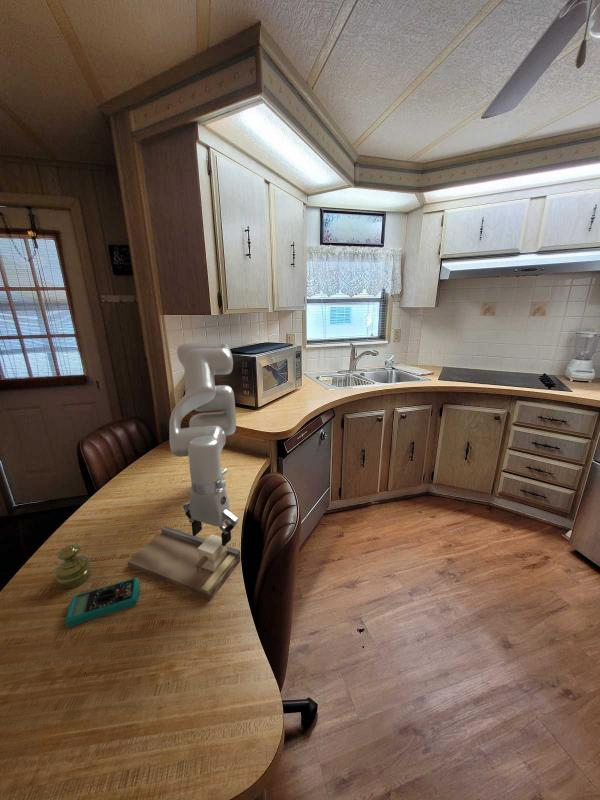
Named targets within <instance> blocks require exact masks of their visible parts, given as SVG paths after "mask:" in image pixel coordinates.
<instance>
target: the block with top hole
mask: <svg viewBox="0 0 600 800" xmlns="http://www.w3.org/2000/svg"><path fill="white" fill-rule="evenodd" d="M205 539H206V540H205V541H204V542H203V543H202V544H201V545H200V546H199V547H198V558H199V562H198V563H197V564H196V566H197V568H199V572H201V567H202V568H205V569H207V570H210V571H213V572H215V571H216V570H217V568H218V567H219V566H220V565H221V564H222V562H223V561H224V560H225V559H226V557H227V546H228V545H227V544H228V543H227V544H226V545H225V546H222V538H221V536H218V535H216V534H210V535H209V536H208V537H207V538H205Z"/></svg>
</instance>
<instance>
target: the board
mask: <svg viewBox="0 0 600 800" xmlns="http://www.w3.org/2000/svg"><path fill="white" fill-rule="evenodd" d="M206 539H207V538H204V537H202V536H201V537H200V536H197V535H196V536H193V534H191V533H187V532H185V531H182V530H179V529H175V528H173V527H169V526H167V525H164V526H163V527H162V528H161V533H159V534H158V535H157V536H155V538H153V539H152V540H151V541H150V542H149V543H148V544H147V545H145V546H144V547H142V548H141V549H140V550H139V551H138V552H137V553H135V554H134V555H133V556H132V557H130V559H128V560H127V562H126V563H127V568H129V569H132V570H133V571H136V572H139V573H142V574H144V575H146V576H149V577H151V578H153V579H156V580H158V581H161V582H164V583H166V584H168V585H171V586H173V587H175V588H178V589H180V590H183V591H185V592H188V593H190V594H193V595H195V596H198V597H200V598H202V599H205V600H207V601H211V600H212V599H213V598H214V597H215V595H216V594H217V592H218V591H219V590H220V588H221V587H222V586H223V584H224V583H225V582H226V581H227V579H228V578H229V577H230V575H231V574H232V573H233V571H234V570H235V568H236V567H237V566H238V565H239V563H240V562H241V558H242V557H241V550H240V549H237V548H234V547H232V546H228V545H227V557H226V559H225V560H224V561H223V562H222V564H221V565H220V566H219V567H218V568H217V570H216V571H215V572H213V571H210V570H207V569H205V568H202V567H201V572H199V568H197V566H196V564H197V563H198V562H199V558H198V547H199V546H200V545H201V544H202V543H203V542H204V541H205V540H206Z"/></svg>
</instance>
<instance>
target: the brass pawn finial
mask: <svg viewBox="0 0 600 800" xmlns="http://www.w3.org/2000/svg"><path fill="white" fill-rule="evenodd" d="M81 548H82V547H81V545H80V544H77V543H72V544H69V545H66V546H64V547H63V548H61V549H60V550H58V552H57V553H56V557H57V559H58V560H62V561H61V562H60V563H58V565H57V566H56V568H55V570H54V575H55V577H56V579H55V580H56V582H57V587H59V588H60V589H63V590H70V589H74V588H76V587H79V586H80V585H83V584H84V582H86V581H87V580H88V579H89V578H90V576H91V575H92V568H91V567H92V566H91V564H90V558H89V556H87V555H85V554H78V553H80V551H81Z"/></svg>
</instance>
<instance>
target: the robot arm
mask: <svg viewBox="0 0 600 800" xmlns="http://www.w3.org/2000/svg"><path fill="white" fill-rule="evenodd" d="M176 355H177V358H178V360H179V363H180V364H181V365H182V368H183V369H184V385H185V387H184V388H185V394H184V396H183V397H181V398H180V400H179V401H178V402H177V403H176V405H175V406H174V407H173V410H172V411H171V414H170V418H169V428H168V429H169V447H170V451H171V453H172V454H173V455H174V456H176V457H180V458H181V457H188V463H189V472H190V482H191V483H190V485H191V486H190V491H189V501H188V502H187V501H186V502H185V503H184V504H183V505H182V510H184V512H185V516H186V517H187V518H188V522H189V524H191V525H190V526H191V531H192V532H191V533H192V534H191V535H193V536H197V535H198V534H199V533H201V531H202V530H203V527H202V526H203V525H202V523H204V524H207V525H209V526H213V527H218V528H219V529H220V530H221V532H222V533H221V535H220V537H221V538H222V546H225V545H226V544H228V543H229V542H230V541H231V540H232V532H231V531H232V530H233V529H235V527H236V526H237V524H238V522H239V518H238V517H237V516H235V515H234V514H233V513H232V512H231V508H230V501H229V497H228V492H227V489H226V479H225V478H223V477H224V475H225V474H227V472H228V469H227V468H223V469H222V463H221V452H222V451H223V448H224V447H225V444H226V437H227V436H232V435H234V434H235V432H236V429H237V419H236V418H237V417H236V414H237V413H236V401H235V393H234V390H233V389H232V387H231V386H229V385H226V384H223V385H222V384H220V385H216V383H215V376H219V375H220V376H221V375H222V376H223V375H229V374H231V373H233V372H232V371H233V369H234V367H233V366H234V360H233V355H232V351H231V349H230V347H229V344H228V343H226V342H189V343H188V342H187V343H183V344H180V345H178V346H177V349H176ZM193 411H196V412H203V413H198V414H195V415H192V416H191V418H190V419H189V424H188V425H189V427H184V428H181V427H182V426H181V424H182V421H183V419H185V417H186V416H187V415H188V414H190V413H191V412H193ZM212 411H216V412H212ZM225 525H226V526H225Z"/></svg>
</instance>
